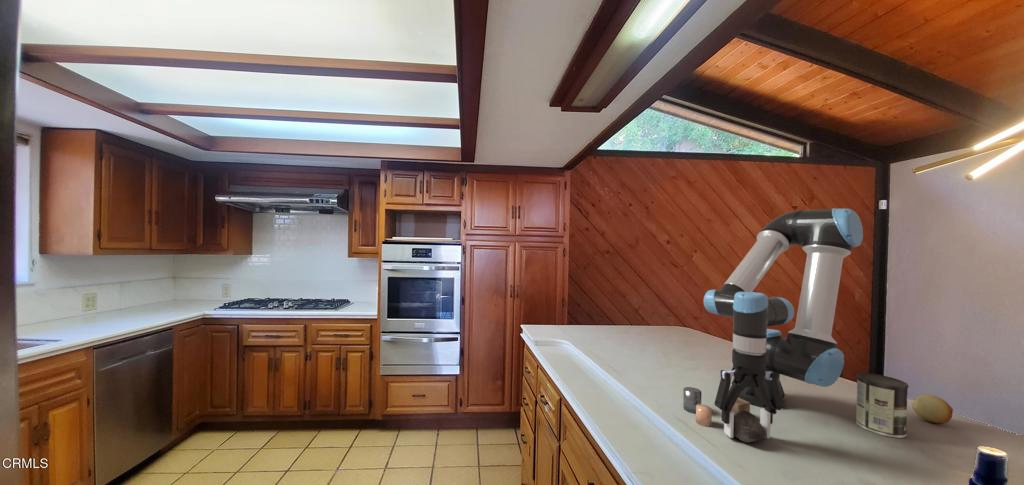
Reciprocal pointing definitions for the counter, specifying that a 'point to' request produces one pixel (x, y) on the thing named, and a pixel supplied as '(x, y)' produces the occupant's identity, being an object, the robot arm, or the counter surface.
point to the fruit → (932, 409)
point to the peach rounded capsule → (703, 415)
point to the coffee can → (882, 405)
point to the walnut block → (741, 405)
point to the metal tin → (691, 399)
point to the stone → (747, 427)
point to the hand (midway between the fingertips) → (746, 435)
